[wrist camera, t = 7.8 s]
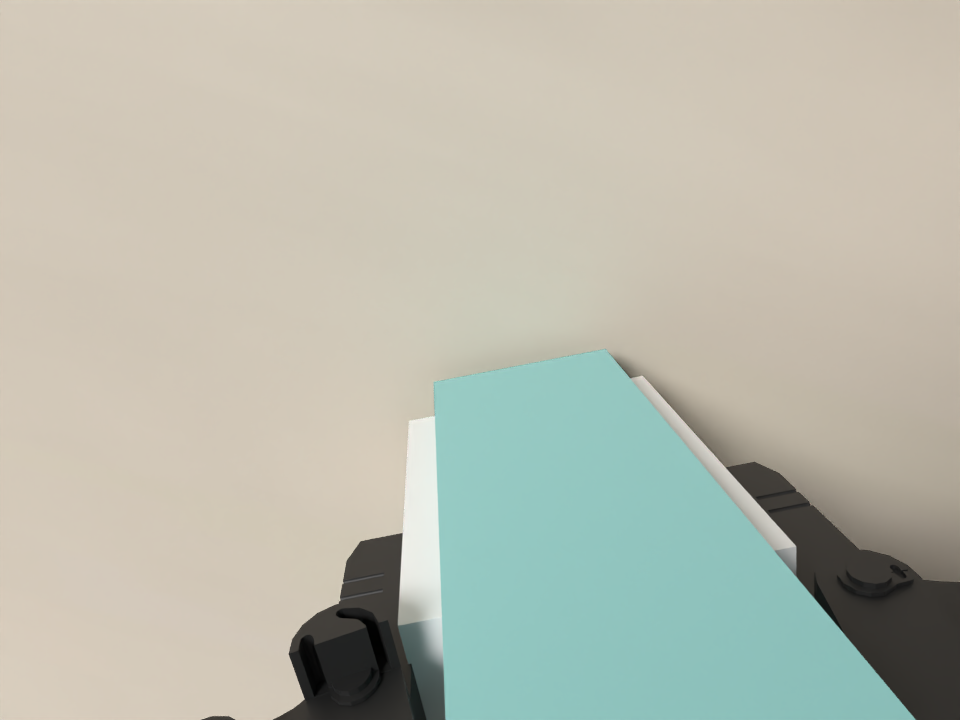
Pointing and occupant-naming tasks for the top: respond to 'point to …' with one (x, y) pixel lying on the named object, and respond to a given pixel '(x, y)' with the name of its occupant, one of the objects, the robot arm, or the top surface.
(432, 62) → the top surface
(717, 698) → the teal cube-topped l-bracket
